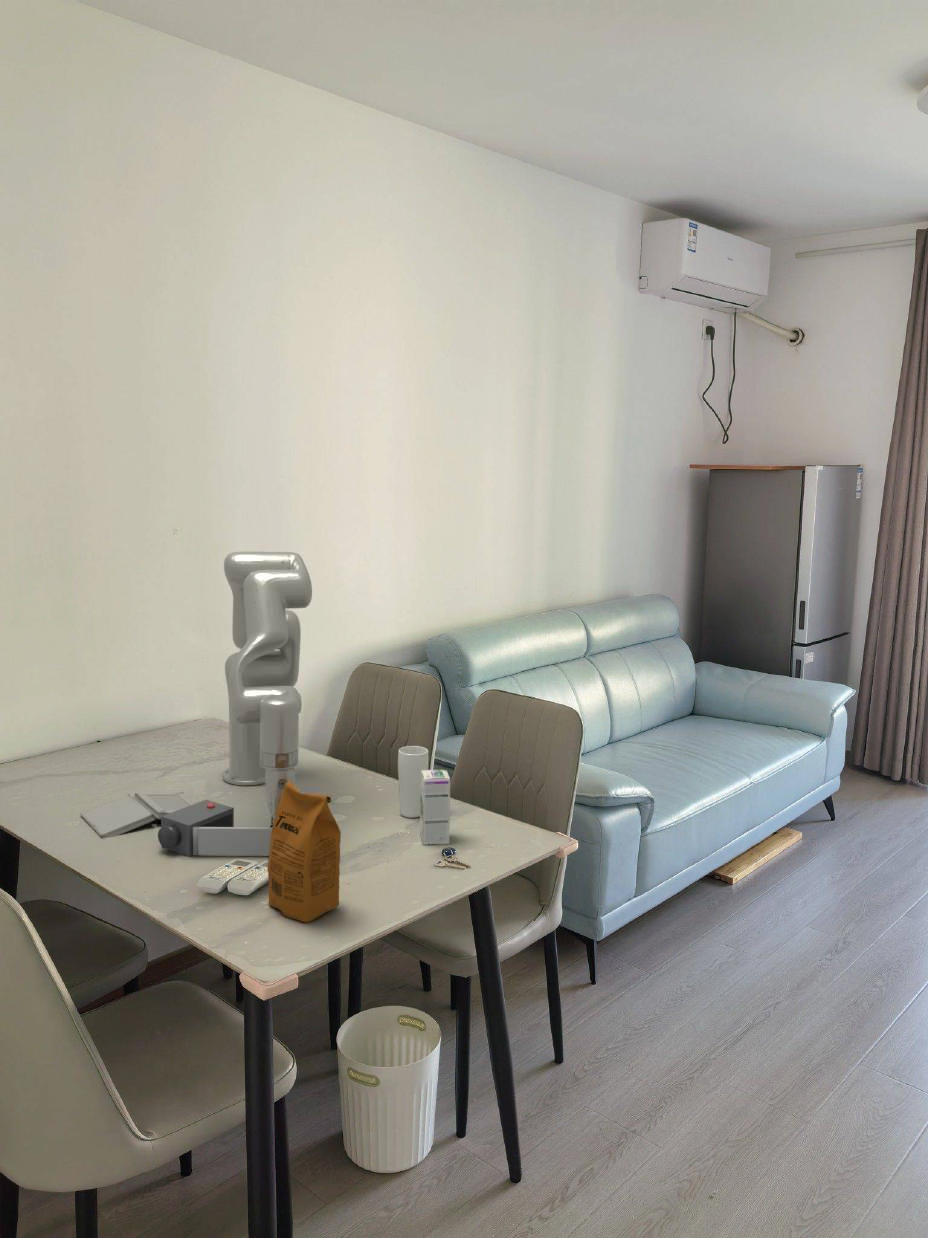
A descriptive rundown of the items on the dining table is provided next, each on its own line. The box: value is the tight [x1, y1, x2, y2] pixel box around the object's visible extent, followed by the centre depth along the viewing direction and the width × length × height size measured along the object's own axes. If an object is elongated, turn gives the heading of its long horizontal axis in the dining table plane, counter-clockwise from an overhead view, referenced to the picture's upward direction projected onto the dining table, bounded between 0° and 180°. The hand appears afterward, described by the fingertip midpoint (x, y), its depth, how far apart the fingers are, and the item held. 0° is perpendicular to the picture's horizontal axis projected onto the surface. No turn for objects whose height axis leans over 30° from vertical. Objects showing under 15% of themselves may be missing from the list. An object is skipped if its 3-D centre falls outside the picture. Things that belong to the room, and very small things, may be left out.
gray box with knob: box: [157, 799, 235, 857], centre depth 194 cm, size 14×8×7 cm, turn 148°
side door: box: [192, 826, 272, 856], centre depth 189 cm, size 20×2×6 cm, turn 94°
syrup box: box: [419, 769, 451, 846], centre depth 200 cm, size 6×6×14 cm
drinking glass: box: [397, 745, 429, 819], centre depth 214 cm, size 7×7×15 cm
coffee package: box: [267, 781, 342, 923], centre depth 167 cm, size 10×12×22 cm
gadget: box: [80, 791, 197, 839], centre depth 208 cm, size 23×15×4 cm, turn 128°
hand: (278, 844), depth 193 cm, fingers closed
